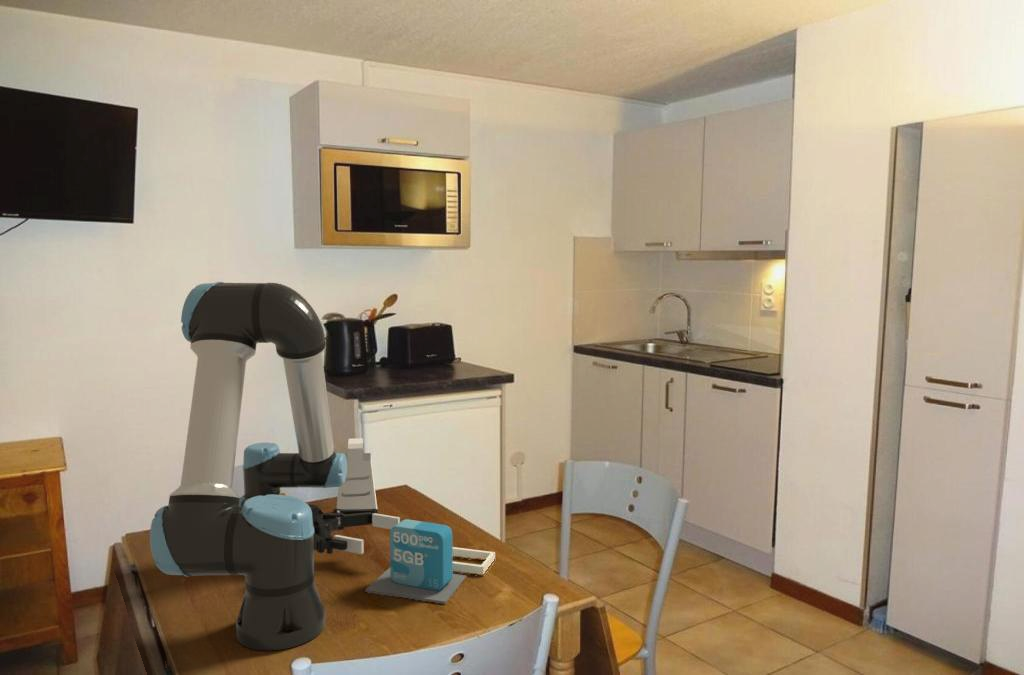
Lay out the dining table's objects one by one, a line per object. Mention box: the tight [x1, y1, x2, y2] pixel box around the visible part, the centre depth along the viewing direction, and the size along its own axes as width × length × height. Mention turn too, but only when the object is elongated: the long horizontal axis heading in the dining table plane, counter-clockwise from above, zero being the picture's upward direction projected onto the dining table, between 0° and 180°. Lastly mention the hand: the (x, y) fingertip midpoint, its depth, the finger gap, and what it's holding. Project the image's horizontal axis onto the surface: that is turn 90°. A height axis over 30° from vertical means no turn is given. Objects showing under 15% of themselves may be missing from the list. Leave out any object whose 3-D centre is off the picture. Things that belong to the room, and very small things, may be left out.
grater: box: [336, 437, 378, 524], centre depth 182 cm, size 10×10×20 cm
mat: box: [364, 567, 467, 605], centre depth 144 cm, size 12×17×1 cm
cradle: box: [453, 546, 496, 574], centre depth 154 cm, size 8×15×2 cm, turn 74°
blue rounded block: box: [389, 518, 454, 591], centre depth 143 cm, size 12×4×12 cm, turn 69°
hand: (381, 535), depth 146 cm, fingers open, 13 cm apart
